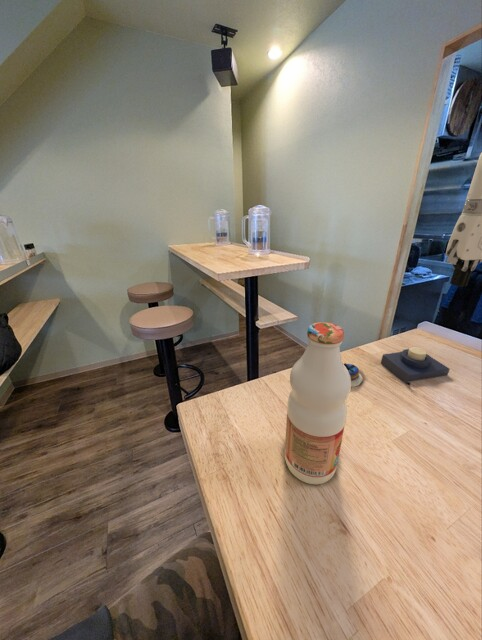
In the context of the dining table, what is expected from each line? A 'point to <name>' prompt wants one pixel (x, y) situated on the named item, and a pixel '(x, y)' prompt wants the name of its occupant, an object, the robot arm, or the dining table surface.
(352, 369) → the dessert
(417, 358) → the push cap
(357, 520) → the dining table surface
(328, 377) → the fruit juice
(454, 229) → the robot arm
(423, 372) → the push cap base
